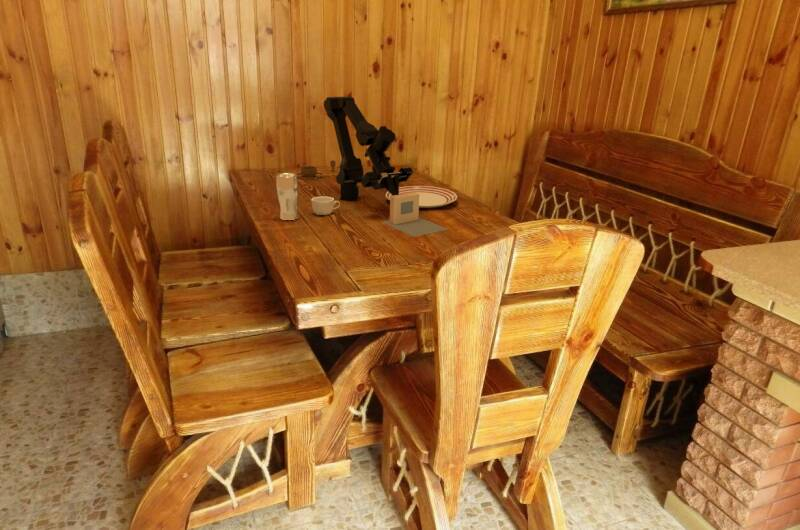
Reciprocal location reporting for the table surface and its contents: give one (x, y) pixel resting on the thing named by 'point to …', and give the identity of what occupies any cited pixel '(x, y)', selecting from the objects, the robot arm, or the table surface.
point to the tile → (404, 208)
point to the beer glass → (287, 195)
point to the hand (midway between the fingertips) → (397, 197)
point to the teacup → (323, 205)
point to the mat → (417, 227)
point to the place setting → (312, 171)
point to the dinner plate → (428, 195)
